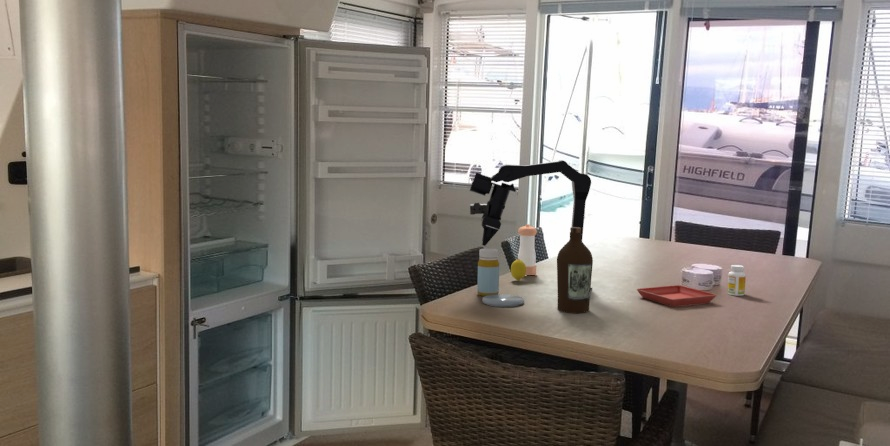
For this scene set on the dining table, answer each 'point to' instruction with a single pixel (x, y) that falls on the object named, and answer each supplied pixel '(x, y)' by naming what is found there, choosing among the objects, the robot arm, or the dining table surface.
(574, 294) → the olive oil
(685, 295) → the plant saucer
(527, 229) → the pepper shaker
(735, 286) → the supplement bottle
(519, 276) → the lemon
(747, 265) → the dining table surface
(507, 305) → the stand
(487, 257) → the bottle
